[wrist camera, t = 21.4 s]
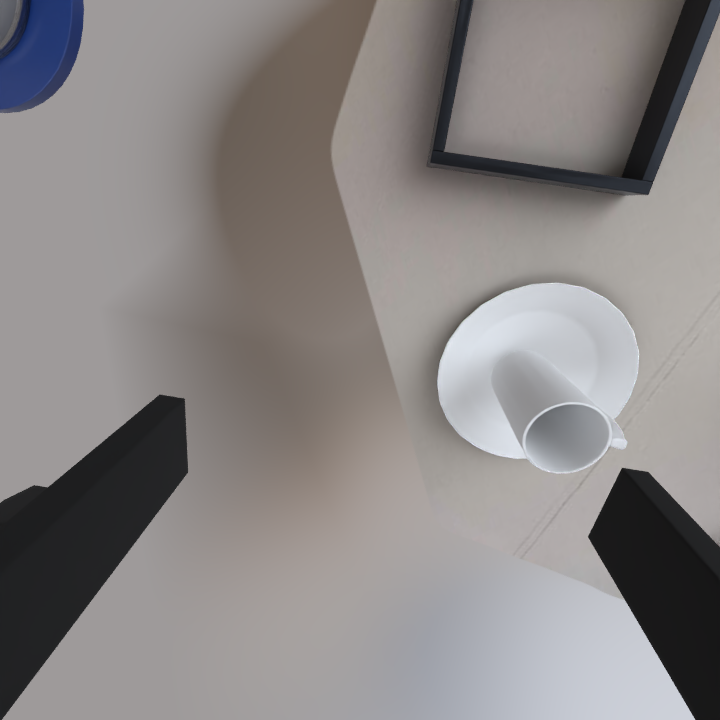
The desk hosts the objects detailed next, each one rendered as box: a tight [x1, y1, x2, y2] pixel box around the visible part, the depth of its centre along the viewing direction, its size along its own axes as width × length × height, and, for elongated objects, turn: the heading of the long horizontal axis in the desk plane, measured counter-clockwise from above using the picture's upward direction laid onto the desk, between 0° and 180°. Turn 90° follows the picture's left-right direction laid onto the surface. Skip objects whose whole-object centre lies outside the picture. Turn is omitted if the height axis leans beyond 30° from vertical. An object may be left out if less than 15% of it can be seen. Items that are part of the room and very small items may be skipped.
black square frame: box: [427, 0, 720, 195], centre depth 31 cm, size 19×18×4 cm
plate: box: [437, 283, 639, 459], centre depth 43 cm, size 21×21×2 cm
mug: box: [491, 350, 627, 474], centre depth 36 cm, size 10×7×12 cm, turn 78°
